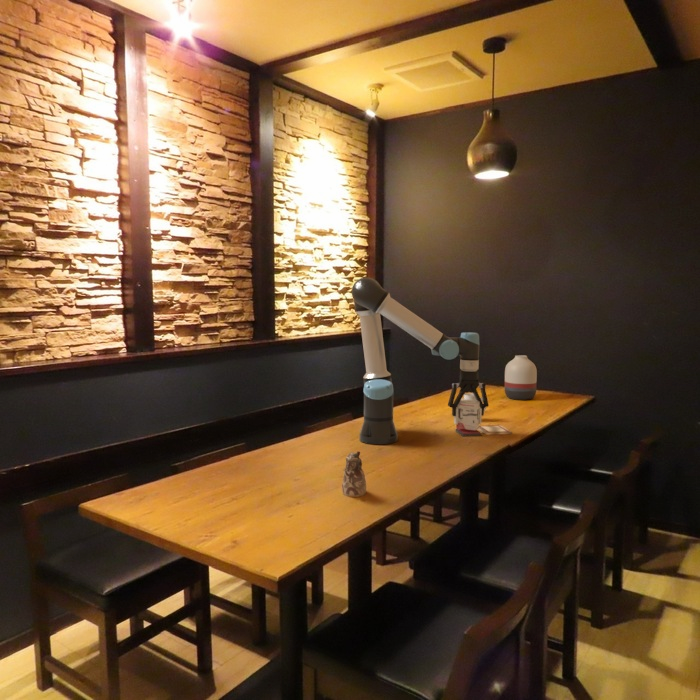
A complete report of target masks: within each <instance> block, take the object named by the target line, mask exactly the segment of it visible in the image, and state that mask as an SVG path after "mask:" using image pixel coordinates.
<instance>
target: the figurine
mask: <svg viewBox="0 0 700 700" xmlns="http://www.w3.org/2000/svg"><path fill="white" fill-rule="evenodd" d="M360 454H361V451H359V450H357V451H356V453H355V452H350V453H349V454H348V455H347V456H346V457H345V468H343V472H344V473H343V480H342V483H341V484H342V485H341V486H342V488H341V489H342V495H343V496H346V497H349V498H350V497H352V498H353V497H354V498H357V497H362V496H364V495H365V494H367V480H366V475H365V472H364V470H363V468H362V466H363V463H362V458H360Z"/></svg>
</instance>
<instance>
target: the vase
mask: <svg viewBox="0 0 700 700" xmlns="http://www.w3.org/2000/svg"><path fill="white" fill-rule="evenodd" d="M537 372H538V370H537V367H536V365H535V363H534V362H532V360H530V359H529V358H528V355H522V354H521V355H520V354H519V355H517V354H515V355H514V358H513V359H512V360H510V361H508V362H507V364H505V368H504V393H505V396H506V397H507V398H509V399H511V400H516V401H528V400H532V399H534V398H535V397H536V394H537V382H538V381H537V379H538V378H537V375H538V373H537Z"/></svg>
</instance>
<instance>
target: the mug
mask: <svg viewBox="0 0 700 700" xmlns="http://www.w3.org/2000/svg"><path fill="white" fill-rule="evenodd" d="M478 395H479V396H480V394H479V393H478ZM463 399H468V400H476V398H475V396H474V394H473V393H470V392H468V393H465V394H464V395H463ZM480 399H481V401H482V403H483V399H482V396H481V397H480ZM486 408H487V407H485V408H484V412H485V411H486Z"/></svg>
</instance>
